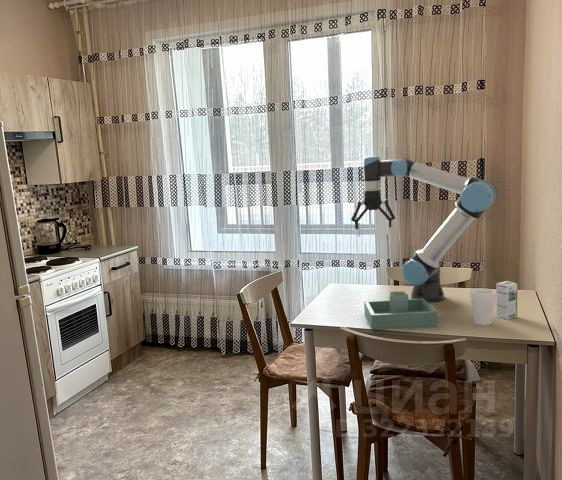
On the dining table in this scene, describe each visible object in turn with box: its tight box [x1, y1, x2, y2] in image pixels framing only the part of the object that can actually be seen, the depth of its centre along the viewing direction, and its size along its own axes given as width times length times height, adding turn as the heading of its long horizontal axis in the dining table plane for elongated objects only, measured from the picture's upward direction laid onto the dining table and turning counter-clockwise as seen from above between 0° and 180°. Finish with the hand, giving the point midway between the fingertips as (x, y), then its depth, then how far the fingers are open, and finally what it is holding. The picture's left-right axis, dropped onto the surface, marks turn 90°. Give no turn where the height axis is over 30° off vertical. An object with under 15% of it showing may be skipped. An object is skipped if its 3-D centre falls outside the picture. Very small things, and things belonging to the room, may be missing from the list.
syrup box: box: [495, 280, 518, 320], centre depth 208 cm, size 6×6×14 cm
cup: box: [388, 290, 409, 313], centre depth 211 cm, size 8×8×10 cm
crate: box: [363, 298, 438, 330], centre depth 212 cm, size 26×20×6 cm
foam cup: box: [469, 287, 497, 326], centre depth 202 cm, size 10×9×13 cm
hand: (373, 235), depth 237 cm, fingers open, 13 cm apart
